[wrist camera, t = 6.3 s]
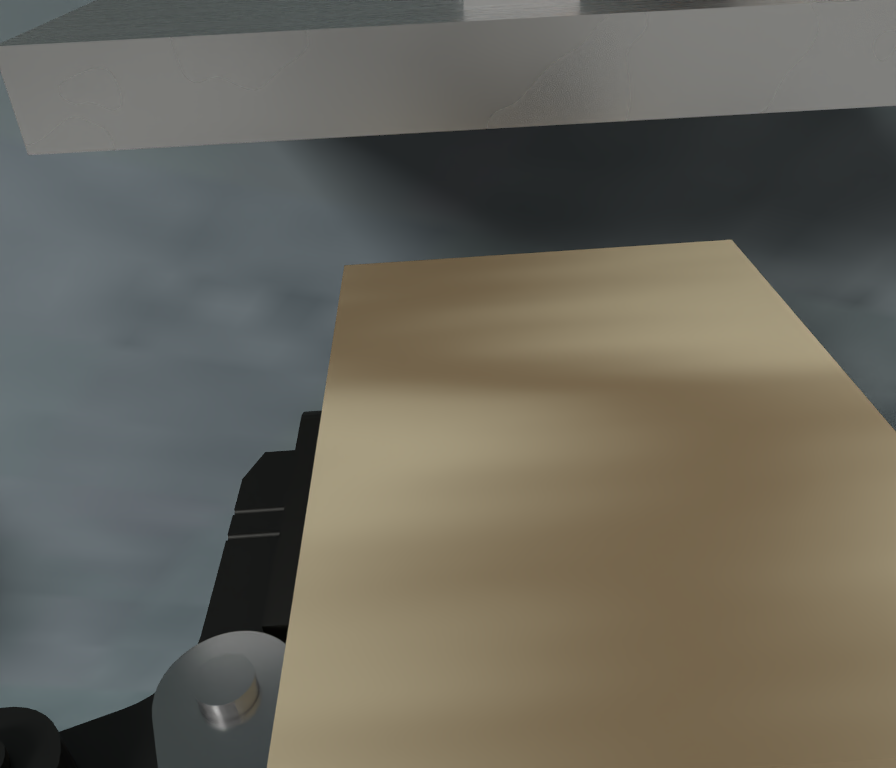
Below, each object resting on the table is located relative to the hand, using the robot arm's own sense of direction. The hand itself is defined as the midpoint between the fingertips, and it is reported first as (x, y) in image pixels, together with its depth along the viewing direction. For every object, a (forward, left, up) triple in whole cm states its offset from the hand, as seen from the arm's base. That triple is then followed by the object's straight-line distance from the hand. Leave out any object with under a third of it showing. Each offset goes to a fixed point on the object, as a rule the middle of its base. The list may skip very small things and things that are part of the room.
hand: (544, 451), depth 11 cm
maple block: (0, 0, -1) cm, 1 cm away
